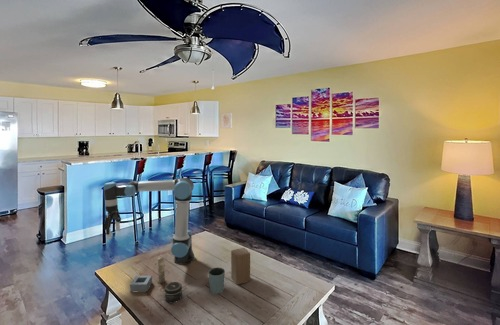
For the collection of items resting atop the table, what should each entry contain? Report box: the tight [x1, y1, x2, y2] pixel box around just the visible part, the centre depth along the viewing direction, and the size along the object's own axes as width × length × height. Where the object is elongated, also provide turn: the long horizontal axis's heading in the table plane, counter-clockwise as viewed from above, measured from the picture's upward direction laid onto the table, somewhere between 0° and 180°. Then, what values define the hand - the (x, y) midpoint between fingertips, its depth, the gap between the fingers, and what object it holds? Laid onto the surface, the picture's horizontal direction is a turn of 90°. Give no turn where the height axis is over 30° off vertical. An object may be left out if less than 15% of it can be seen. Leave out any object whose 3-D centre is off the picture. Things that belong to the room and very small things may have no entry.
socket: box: [129, 275, 153, 293], centre depth 170 cm, size 10×10×5 cm
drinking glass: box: [208, 267, 226, 294], centre depth 168 cm, size 10×10×12 cm
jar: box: [163, 281, 183, 303], centre depth 159 cm, size 10×10×8 cm
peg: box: [157, 256, 166, 284], centre depth 176 cm, size 4×4×16 cm
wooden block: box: [230, 247, 251, 285], centre depth 178 cm, size 10×10×20 cm
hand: (113, 234), depth 187 cm, fingers open, 13 cm apart
